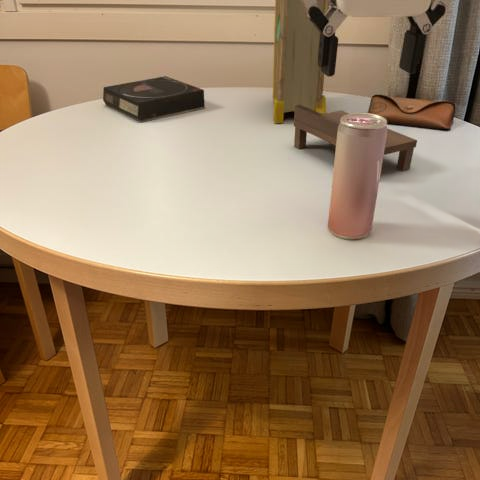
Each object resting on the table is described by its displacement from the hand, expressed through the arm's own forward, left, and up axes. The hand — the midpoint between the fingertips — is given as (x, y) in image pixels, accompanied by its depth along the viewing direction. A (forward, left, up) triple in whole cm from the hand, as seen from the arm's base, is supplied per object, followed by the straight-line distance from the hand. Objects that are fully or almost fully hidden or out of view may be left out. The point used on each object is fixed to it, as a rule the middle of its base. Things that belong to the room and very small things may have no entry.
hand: (367, 72), depth 61 cm
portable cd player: (0, -70, -21) cm, 73 cm away
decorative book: (-26, -50, -21) cm, 60 cm away
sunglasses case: (-42, -32, -21) cm, 57 cm away
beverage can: (0, 0, -21) cm, 21 cm away
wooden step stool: (-18, -22, -20) cm, 35 cm away
